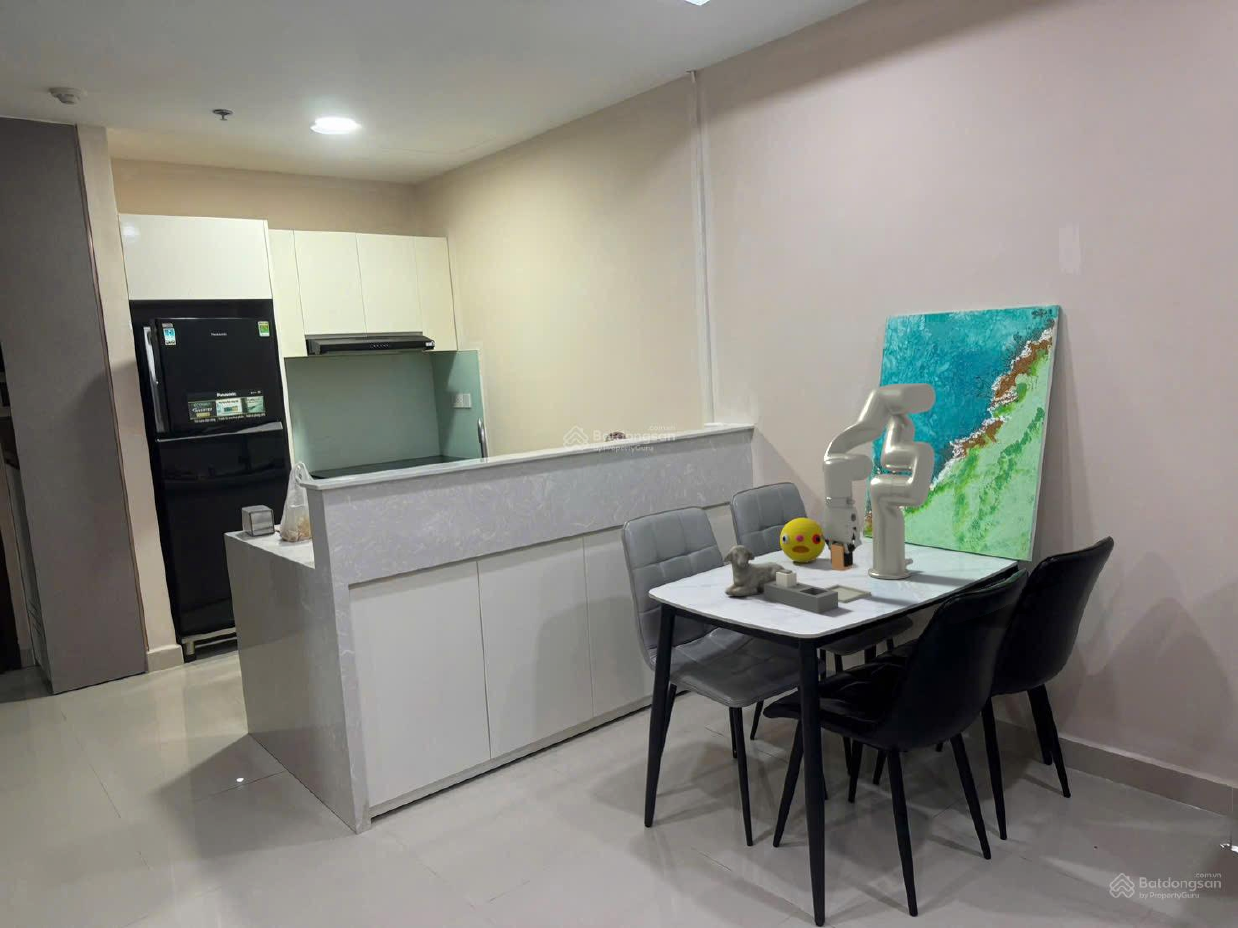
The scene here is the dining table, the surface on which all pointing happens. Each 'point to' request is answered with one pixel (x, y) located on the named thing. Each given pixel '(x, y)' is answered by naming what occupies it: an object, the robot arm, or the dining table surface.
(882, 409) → the robot arm
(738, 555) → the sculpture
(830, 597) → the pdu
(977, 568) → the dining table surface
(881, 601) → the dining table surface
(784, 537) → the toy
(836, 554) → the plug
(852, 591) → the tray
